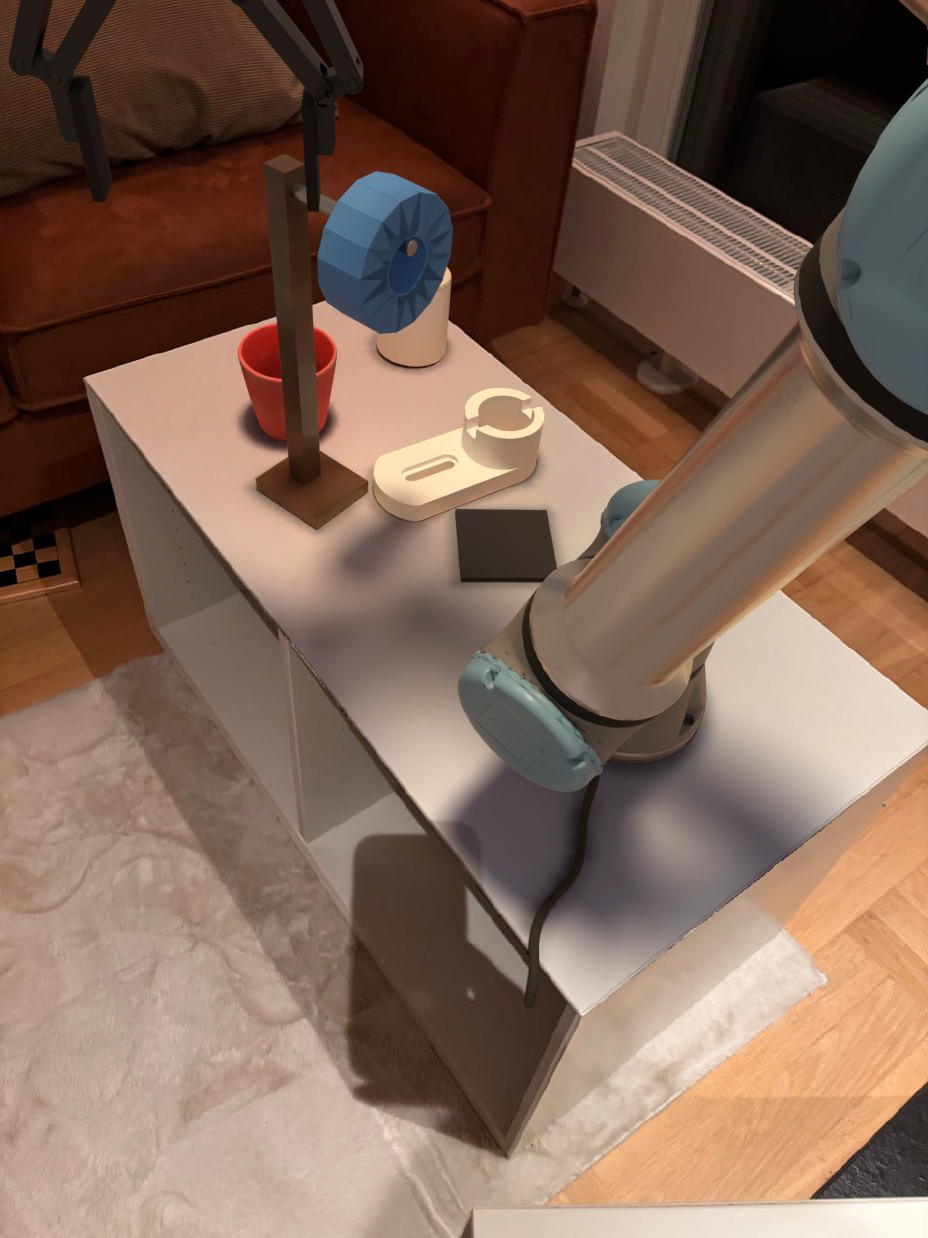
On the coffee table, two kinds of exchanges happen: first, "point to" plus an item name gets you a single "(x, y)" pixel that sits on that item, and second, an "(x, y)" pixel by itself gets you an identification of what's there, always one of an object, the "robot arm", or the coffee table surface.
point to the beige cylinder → (421, 333)
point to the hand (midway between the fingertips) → (209, 197)
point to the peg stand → (301, 356)
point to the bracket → (463, 458)
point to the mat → (504, 545)
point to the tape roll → (384, 252)
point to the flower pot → (265, 376)
